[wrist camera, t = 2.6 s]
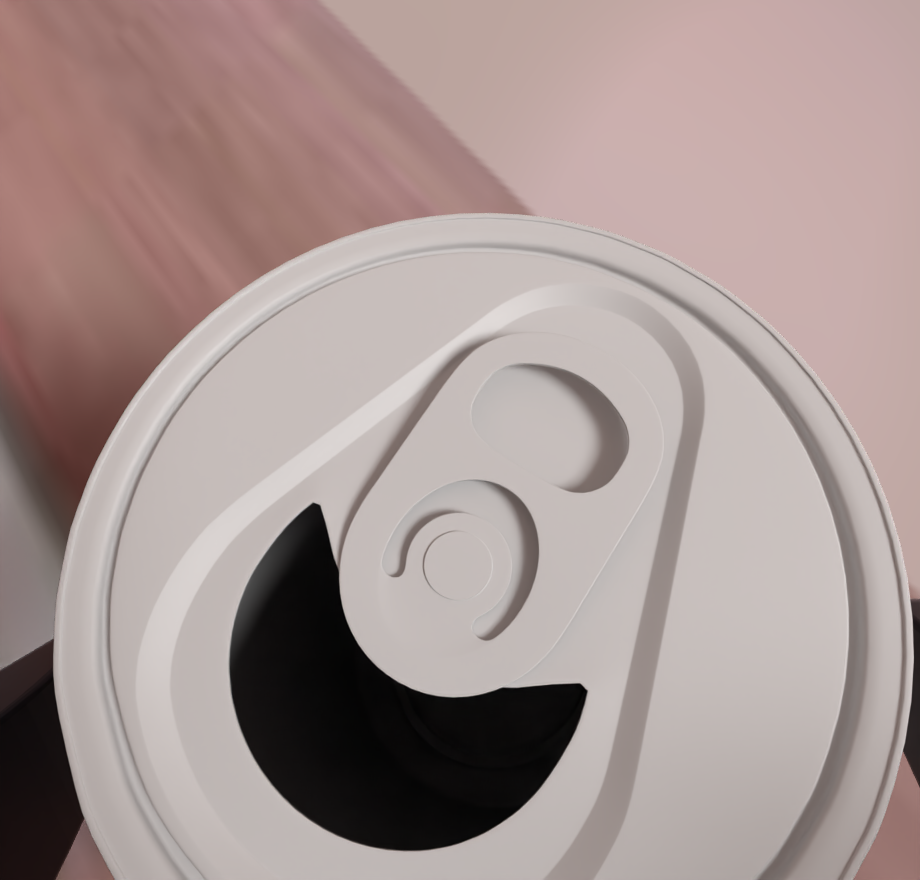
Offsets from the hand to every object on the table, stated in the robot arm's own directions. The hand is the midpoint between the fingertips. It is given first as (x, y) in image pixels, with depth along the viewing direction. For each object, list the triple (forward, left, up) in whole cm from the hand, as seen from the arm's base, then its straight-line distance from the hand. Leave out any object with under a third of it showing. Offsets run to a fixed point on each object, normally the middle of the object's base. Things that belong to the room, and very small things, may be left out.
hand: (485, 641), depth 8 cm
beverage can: (0, 0, -8) cm, 8 cm away
